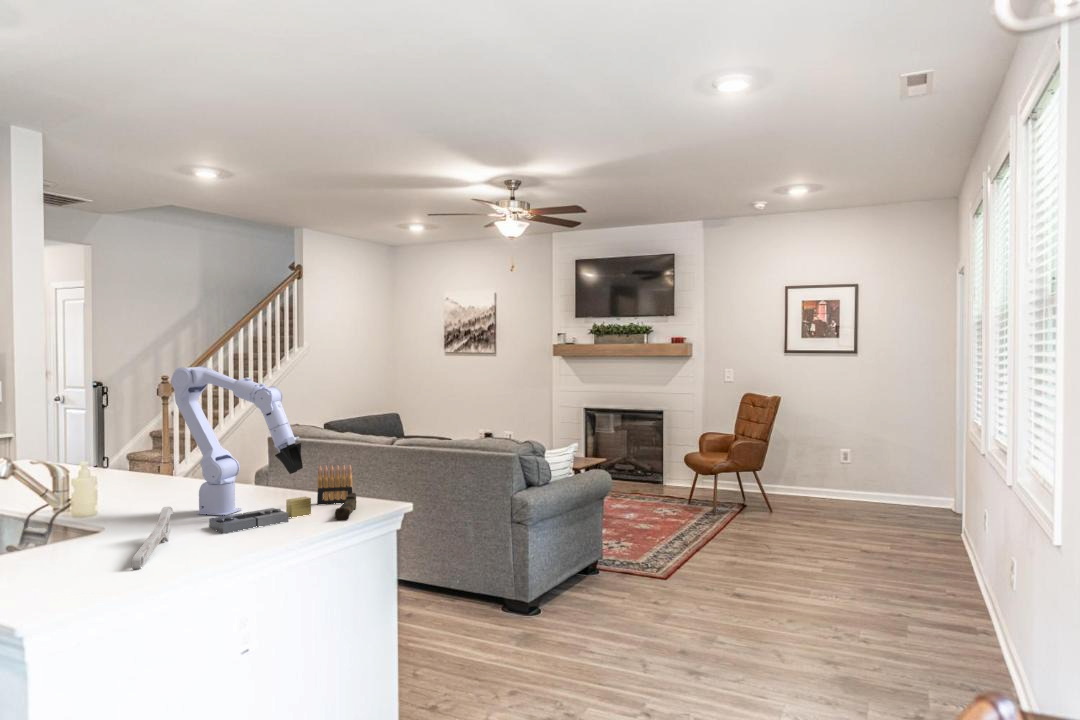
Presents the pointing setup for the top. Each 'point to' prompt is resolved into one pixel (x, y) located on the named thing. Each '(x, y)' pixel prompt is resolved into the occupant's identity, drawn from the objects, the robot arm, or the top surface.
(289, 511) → the brass rectangular block
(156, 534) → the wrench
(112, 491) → the top surface
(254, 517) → the chain ends
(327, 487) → the ammunition clip
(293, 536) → the top surface
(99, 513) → the top surface
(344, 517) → the dark brown elongated piece
